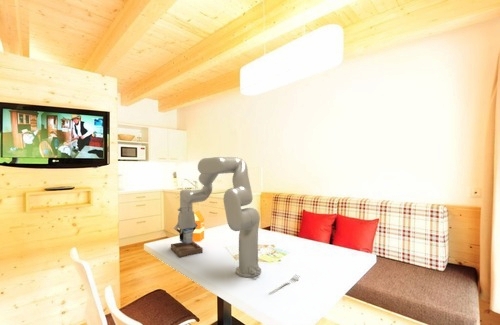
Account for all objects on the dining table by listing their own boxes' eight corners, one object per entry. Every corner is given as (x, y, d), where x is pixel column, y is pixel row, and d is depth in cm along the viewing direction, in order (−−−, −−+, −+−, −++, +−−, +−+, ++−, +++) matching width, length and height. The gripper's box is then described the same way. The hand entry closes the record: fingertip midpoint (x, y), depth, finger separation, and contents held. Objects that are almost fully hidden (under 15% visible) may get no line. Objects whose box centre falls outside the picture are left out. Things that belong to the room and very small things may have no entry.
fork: (260, 297, 103) (260, 292, 103) (295, 277, 120) (295, 274, 120) (266, 299, 101) (266, 295, 101) (300, 279, 118) (300, 276, 118)
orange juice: (204, 238, 184) (204, 210, 184) (199, 241, 176) (199, 212, 176) (194, 237, 186) (194, 210, 186) (189, 241, 177) (189, 212, 177)
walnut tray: (202, 253, 153) (202, 248, 153) (179, 257, 146) (179, 252, 146) (192, 245, 168) (192, 240, 168) (171, 248, 161) (171, 244, 161)
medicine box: (179, 241, 158) (179, 227, 158) (185, 239, 161) (185, 226, 162) (186, 244, 153) (186, 229, 153) (193, 242, 156) (192, 228, 156)
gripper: (174, 212, 149) (174, 242, 149) (201, 209, 159) (201, 238, 159) (170, 210, 156) (170, 239, 156) (197, 207, 165) (197, 235, 165)
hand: (186, 238), depth 157 cm, fingers closed on medicine box, 5 cm apart
